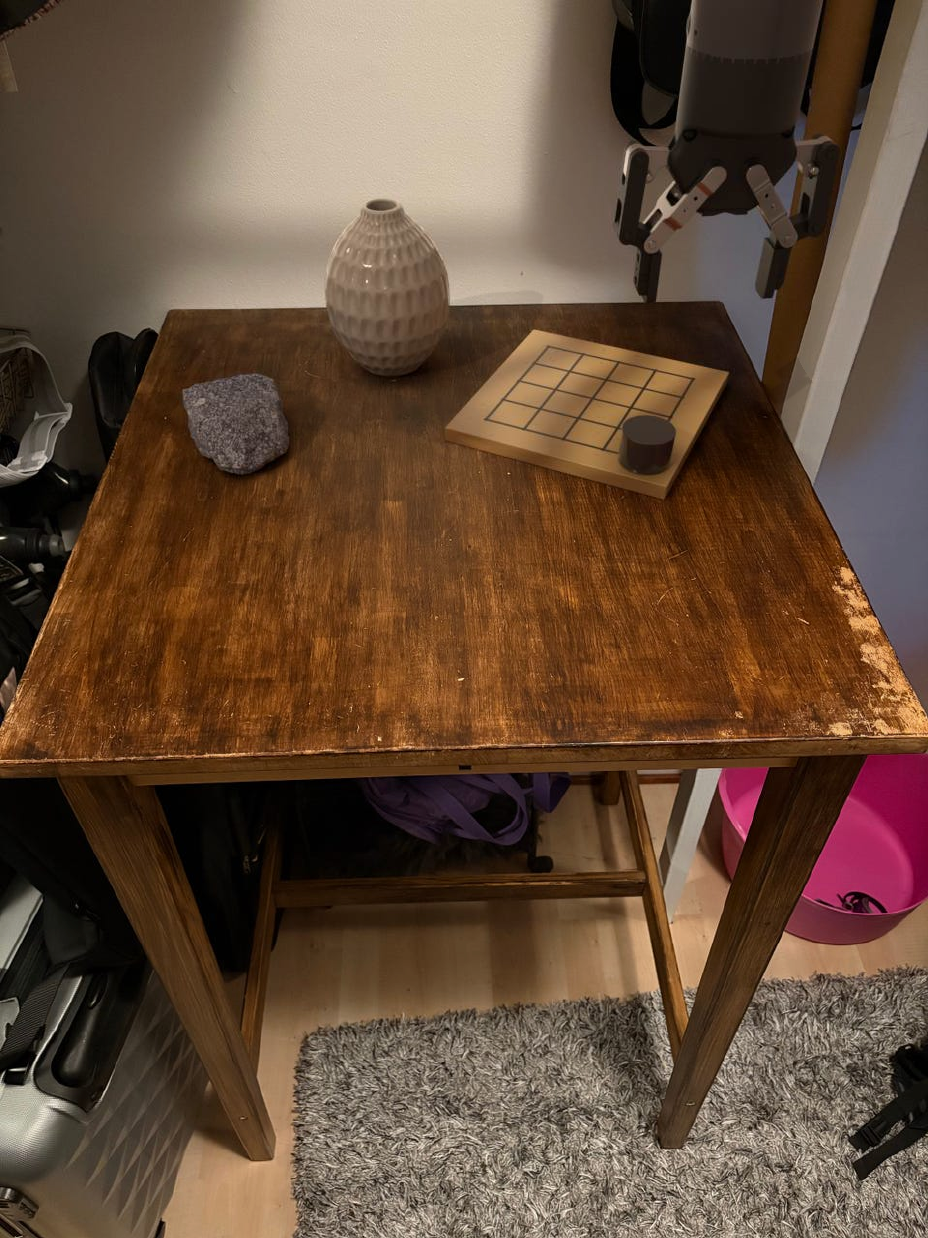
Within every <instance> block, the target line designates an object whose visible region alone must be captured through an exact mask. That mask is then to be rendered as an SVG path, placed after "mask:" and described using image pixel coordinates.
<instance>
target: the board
mask: <svg viewBox="0 0 928 1238" xmlns="http://www.w3.org/2000/svg"><path fill="white" fill-rule="evenodd" d="M729 376H730V372H729V371H725V370H720V369H716V368H711V367H708V366H702V365H697V364H693V363H690V362H689V363H688V362H684V361H681V360H674V359H670V358H666V357H661V356H656V355H652V354H647V353H644V352H639V351H634V350H630V349H625V348H621V347H617V346H612V345H608V344H603V343H598V342H594V341H588V340H584V339H579V338H576V337H571V336H565V335H562V334H557V333H552V332H547V331H543V330H539V329H538V330H537V329H533V330H531V332H530V333H529V334H528V335H527V336H526V337H525V338H524V339H523V340H522V342H521V343H519V345H518V346H517V347H516V348H515V349H514V351H513V352H512V353H510V355H509V356H508V357H507V358H506V359H505V361H504V362H503V363H502V364H501V365H500V366H499V367H498V368H497V370H495V371H494V372H493V374H491V376H490V377H489V378H488V379H487V381H485V382H484V384H483V385H482V386H481V387H480V388H479V389H478V390H477V392H476V393H475V394H473V396H472V397H471V398H470V399H469V400H468V401H467V403H466V404H465V405H464V406H463V407H462V408H461V409H459V411H458V413H457V414H455V416H454V417H453V418H452V419H451V420H450V421H449V422H448V424H447V425H446V426H444V441H446V442H449V443H453V444H456V445H460V446H464V447H467V448H471V449H475V450H479V451H482V452H486V453H490V454H493V455H497V456H499V457H500V456H501V457H505V458H507V459H512V460H515V461H519V462H523V463H528V464H531V465H533V466H537V467H542V468H546V469H548V470H553V471H556V472H561V473H564V474H567V475H570V476H574V477H579V478H582V479H585V480H590V481H593V482H596V483H599V484H604V485H607V486H608V485H609V486H612V487H616V488H620V489H623V490H626V491H630V492H633V493H638V494H641V495H645V496H649V497H653V498H656V499H659V500H663V501H664V500H665V499H666V498H667V496H668V494H669V492H670V490H671V489H672V486H673V485H674V483H675V481H676V479H677V478H678V476H679V474H680V472H681V470H682V468H683V466H684V465H685V462H686V461H687V459H688V457H689V455H690V454H691V451H692V449H693V448H694V446H695V444H696V442H697V440H698V438H699V437H700V435H701V433H702V431H703V429H704V427H705V425H706V424H707V422H708V420H709V418H710V416H711V414H712V413H713V410H714V409H715V408H716V405H717V404H718V401H719V399H720V397H721V396H722V394H723V392H724V391H725V388H726V387H727V385H728V379H729ZM640 415H651V416H657V417H660V418H663V419H665V420H667V421H669V422H670V423H671V424H672V425H673V426H674V427H675V429H676V436H675V442H674V447H673V452H672V458H671V463H670V466H669V467H668V468H667V469H666V470H665V471H663V472H661V473H657V474H651V475H644V474H637V473H634V472H631V471H629V470H627V469H625V468H624V467H622V466H621V464H620V463H619V461H618V450H619V443H620V435H621V428H622V425H623V423H624V422H625V421H626V420H627V419H629V418H631V417H635V416H640Z"/></svg>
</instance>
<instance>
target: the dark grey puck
mask: <svg viewBox="0 0 928 1238" xmlns="http://www.w3.org/2000/svg"><path fill="white" fill-rule="evenodd" d="M675 436H676V429H675V427H674V426H673V425H672V424H671V423H670V422H669V421H667V420H665V419H663V418H660V417H657V416H651V415H640V416H635V417H631V418H629V419H627V420H626V421H625V422H624V423H623V425H622V428H621V435H620V443H619V450H618V461H619V463H620V464H621V466H622V467H624V468H625V469H627V470H629V471H631V472H634V473H637V474H644V475H651V474H657V473H661V472H663V471H665V470H666V469H667V468H668V467H669V466H670V463H671V458H672V452H673V447H674V442H675Z"/></svg>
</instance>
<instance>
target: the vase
mask: <svg viewBox="0 0 928 1238" xmlns="http://www.w3.org/2000/svg"><path fill="white" fill-rule="evenodd" d="M450 289H451V288H450V281H449V275H448V270H447V268H446V264H445V262H444V259H443V257H442V255H441V253H440V250H439V248H438V247H437V244H436V242H435V241H434V240H433V239H432V237H431V236H430V235H429V233H428V232H427V230H426V229H425V228H424V227H422V225H421V224H420V223H419V222H418V221H416V220H415V219H414V218H413V217H411V215H409V214H408V213H407V212H406V211H405V208H404V206H403V204H402V203H401V202H400V201H398V200H396V199H394V198H387V197H386V198H385V197H380V198H372V199H369V200H367V201H365V202H363V203H362V204H361V206H360V210H359V213H358V214H357V216H356V217H355V218H354V219H352V221H351V222H350V223H349V224H348V225H347V226H346V227H345V228H344V230H343V231H342V232H341V233H340V234H339V237H338V239H337V241H336V242H335V243H334V246H333V248H332V250H331V253H330V256H329V258H328V261H327V265H326V271H325V276H324V299H325V309H326V312H327V318H328V322H329V324H330V326H331V329H332V331H333V334H334V336H335V337H336V339H337V340H338V342H339V343H340V345H341V347H342V348H343V349H344V350H345V352H346V353H347V355H348V356H350V358H351V359H352V360H353V361H354V362H355V363H357V364H358V365H359V366H361V367H362V368H363V369H364V370H366V371H367V373H370V374H372V375H375V376H379V377H386V378H396V377H402V376H406V375H409V374H411V373H413V372H415V371H416V370H418V369H419V368H420V367H421V366H422V365H423V364H425V362H426V361H427V360H428V359H429V358H430V356H432V354H433V353H434V352H435V350H436V348H437V346H438V345H439V343H440V341H441V339H442V337H443V335H444V333H445V330H446V327H447V324H448V319H449V315H450V304H451V294H450V293H451V291H450Z"/></svg>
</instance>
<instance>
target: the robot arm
mask: <svg viewBox="0 0 928 1238" xmlns="http://www.w3.org/2000/svg"><path fill="white" fill-rule="evenodd" d="M823 2H824V0H691V4H690V10H689V11H690V12H689V14H688V17H687V21H686V29H685V31H686V43H685V51H684V58H683V65H682V73H681V81H680V89H679V96H678V104H677V110H676V111H677V112H676V120H675V128H674V132H673V135H672V137H671V139H670V141H669V142H668V144H667V146H656V145H655V146H651V145H650V146H649V145H642V143H641V142H640V141H639V140H638V139H637V140H636V139H631V140H629V141H627V143H626V144H624V148H623V151H622V152H623V153H622V159H621V165H620V166H621V167H620V173H619V180H618V184H617V185H618V186H617V192H616V199H615V206H614V213H613V218H612V219H613V220H612V228H613V229H614V232H615V234H616V236H617V239H618V240H619V242H620V244H621V245H623V246H633V247H635V248H636V253H635V254H636V255H635V261H634V262H635V263H634V272H633V280H632V281H633V286H634V288H635V291H636V292H637V294H638V296H639V297H641V298H642V300H643V303H644V304H656V302H657V296H658V290H659V283H660V282H659V281H660V275H661V266H662V261H663V259H662V258H663V253H662V250H661V248H662V247H663V246H664V245H665V243H666V242H667V241H668V240H669V239H670V238H671V237H672V235H673V234H674V233H675V232H676V231H678V230H681V229H682V228H683V227H684V226H685V225H686V224H687V222H688V221H690V219H691V218H692V217H693V215H695V213H697V214H699V215H700V216H701V217H715V216H718V215H721V214H725V213H726V214H731V215H734V216H747V215H748V212H750V211H752V210H754V209H755V208H756V209H757V211H758V212H759V214H760V216H761V217H762V219H763V221H764V223H765V225H766V227H767V229H768V230H769V236H768V237H767V236H766V237H764V239H763V244H762V249H761V254H760V259H759V263H758V267H757V272H756V277H755V282H754V283H755V284H754V290H755V292H756V293H757V294H758V296H759V297H760V299H762V300H764V299H765V300H766V299H773V298H774V295H775V291H780V290H781V288H782V286H783V285H784V284H785V283H784V282H785V279H786V274H787V270H788V266H789V260H790V256H791V253H792V250H793V247H794V245H795V244H796V243H797V242H799V241H801V240H803V239H806V238H809V237H810V238H813V239H815V238H819V237H820V236H822V235H823V234H824V233H825V231H826V227H827V222H828V216H829V213H830V207H831V202H832V197H833V191H834V186H835V180H836V175H837V170H838V165H839V160H840V154H841V148H840V147H839V145H837V144H836V143H835V141H834V140H833V139H831V138H830V137H829V136H827V135H826V134H825V133H823V132H818V133H816V134H814V135H812V137H811V138H810V139H808V140H807V139H806V140H798V141H797V140H796V141H795V130H796V126H797V123H798V120H799V115H800V111H801V107H802V101H803V96H804V92H805V87H806V83H807V79H808V73H809V69H810V63H811V59H812V55H813V50H814V45H815V41H816V36H817V31H818V26H819V21H820V17H821V13H822V7H823ZM795 162H797V169H798V171H799V172H800V173H801V174H802V175H803V177H802V182H801V188H800V194H799V199H798V200H799V201H798V205H797V212H796V214H793V215H790V216H788V212H787V209H786V208H785V206H784V204H783V202H782V200H781V197H780V196H779V194H778V193H777V191H776V189H775V186H776V185H777V184H778V183H779V182H780V181H781V180H782V179H783V177H784V176H785V175H786V174H787V173H788V171H789V170H790V169H791V168H792V167H793V165H794V163H795ZM664 167H666V169H667V171H668V172H669V174H670V175H671V177H672V179H673V181H672V182H671V183H670V184H669V186H668V187H667V188H666V189H665V190H664V192H663V193H662V194H661V195H660V197H659V198H658V199H657V201H656V204H655V207H654V208H653V209H652V210H651V212H650V213H649V214H648V215H647V216H646V218H645V219H644V220H643V221H642V222H641V221H640V218H641V213H642V207H643V201H644V195H645V188H646V185H648V184H650V183H652V182H653V181H654V180H655V179H656V176H657V173H658V171H659V170H661V168H664Z"/></svg>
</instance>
